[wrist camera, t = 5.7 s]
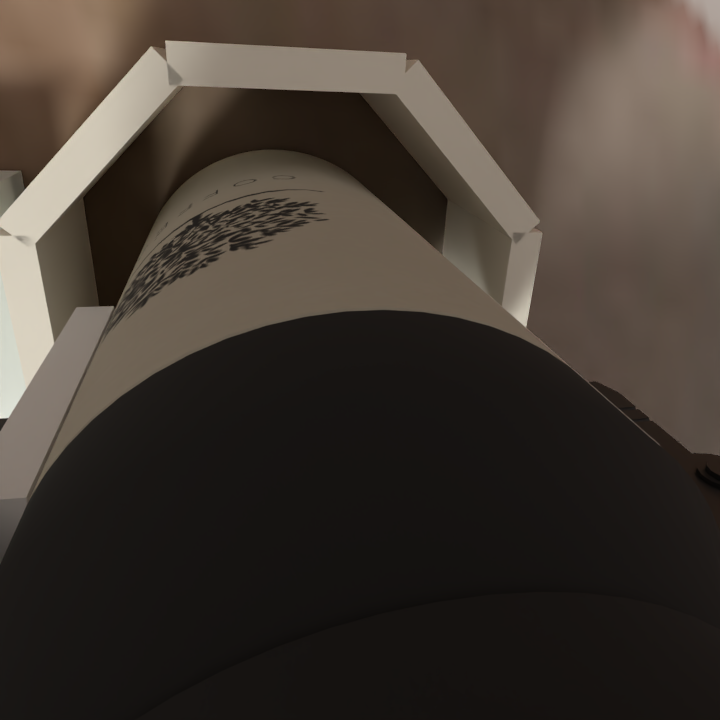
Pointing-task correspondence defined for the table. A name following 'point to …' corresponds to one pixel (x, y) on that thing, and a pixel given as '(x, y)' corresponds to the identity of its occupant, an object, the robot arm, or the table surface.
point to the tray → (3, 368)
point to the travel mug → (346, 494)
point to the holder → (259, 71)
